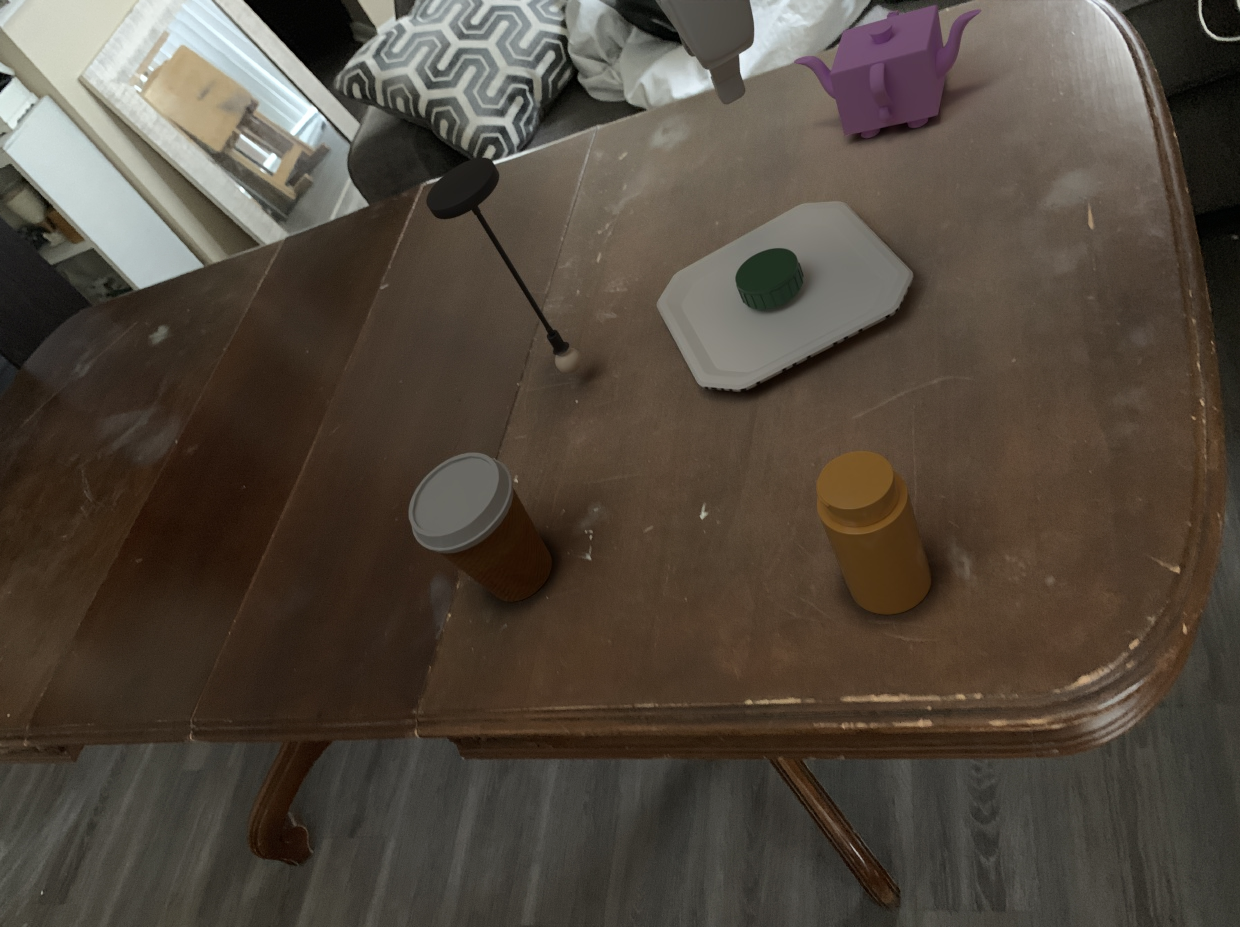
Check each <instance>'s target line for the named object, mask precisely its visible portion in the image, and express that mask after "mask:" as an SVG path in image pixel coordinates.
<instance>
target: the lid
mask: <svg viewBox="0 0 1240 927" xmlns="http://www.w3.org/2000/svg"><path fill="white" fill-rule="evenodd" d="M803 277H804V275H803V272H802V269H801V266H800V263H799V262H798V259H797V257H796V255H795V254H794V253H793V252H792V251H790V250H788V249H784V248H773V249H768V250H765V251H762V252H759V253H757V254H755V255H753V256H752V257H750V258H749V259H747V260H746V261H745V262H744V263H743V264H742V265H741V266H740V268H739V269H738V271H737V273H736V277H735V281H736V286H737V289H738V291H739V294H740V296H741V299H742V301H743V303H745V304H746V305H747V306H748V307H750V308H752V309H757V310H766V309H771V308H775V307H778V306H780V305H782V304H784V303H786V302H788V301H789V300H791V299H792V298H793V297H794V296H795V295H796V294H797V293H798V292H799V290H800V289H801V287H802V284H803Z"/></svg>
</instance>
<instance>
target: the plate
mask: <svg viewBox="0 0 1240 927" xmlns="http://www.w3.org/2000/svg"><path fill="white" fill-rule="evenodd" d="M773 248H784V249H788V250H790V251H792V252H793V253H794V254H795V255H796V257H797V259H798V262H799V263H800V266H801V269H802V272H803V275H804V277H803V284H802V287H801V289H800V290H799V292H798V293H797V294H796V295H795V296H794V297H793V298H792V299H791V300H789V301H788V302H786V303H784V304H782V305H780V306H778V307H775V308H771V309H766V310H757V309H752V308H750V307H748V306H747V305H746V304H745V303H743V301H742V299H741V296H740V294H739V291H738V289H737V286H736V281H735V277H736V273H737V271H738V269H739V268H740V266H741V265H742V264H743V263H744V262H745V261H746V260H747V259H749V258H750V257H752V256H753V255H755V254H757V253H759V252H762V251H765V250H768V249H773ZM913 282H914V272H913V271H912V270H911V269H910V268H909V267H908V265H907V264H906V263H904V262H903V260H902V259H901V258H900V257H899V256H898V255H897V254H896V253H895V252H894V251H893V250H892V249H891V248H890V247H889V246H888V245H887V244H886V243H885V241H883V239H881V238H880V237H879V236H878V235H877V234H876V233H875V231H874V230H872V229H871V227H869V225H868V224H867V223H866V222H865V221H864V220H863V219H862V218H861V217H860V216H859V215H858V214H857V212H855V211H854V209H852V208H851V207H850V206H849V205H848V204H847V202H843V201H839V200H837V201H835V200H834V201H821V202H805V203H801V204H798V205H796V206H794V207H792V208H791V209H789V210H787V211H785V212H783V213H782V214H780V215H778V216H775V217H774V218H773V219H771V220H769V221H767V222H765V223H763V224H762V225H760V226H758V227H756V228H754V229H753V230H751V231H749V232H747V233H745V234H743V235H742V236H740V237H738V238H736V239H735V240H733V241H731V242H729V243H727V244H726V245H725V244H724V245H723V246H721V247H720V248H718V249H716V250H714V251H712V252H711V253H708V254H707V255H706V256H704V257H702V258H700V259H698V260H696V261H695V262H693V263H691V264H689V265H687V266H685V267H684V268H682V269H680V270H678V271H677V272H676V273H674V274H673V276H672V277H671V279H670V280H669V282H668V284H667V285H666V287H665V289H664V290H663V292H662V293H661V295H660V296H659V297H658V299H657V302H656V308H657V310H658V313H659V314H660V316H661V318H662V320H663V321H664V324H665V325H666V328H667V329H668V331H669V333H670V334H671V337H672V339H673V341H674V342H675V344H676V346H677V348H678V349H679V352H680V353H681V356H682V357H683V359H684V361H685V363H686V365H687V367H688V368H689V370H690V372H691V374H692V376H693V378H694V380H695V381H696V384H697V385H698V386H699V387H700V388H702V389H703V390H712V391H713V390H714V391H724V392H737V393H742V392H746V391H749V390H750V389H753V388H755V387H757V386H758V385H760V384H762V383H764V382H767V381H768V380H770V379H772V378H774V377H776V376H778V375H779V374H781V373H783V372H785V371H788V370H789V369H791V368H794V367H796V366H797V365H799V364H802V363H804V362H805V361H806V360H809V359H811V358H813V357H814V356H817V355H818V354H820V353H823V352H824V351H827V350H828V349H830V348H832V347H835V346H836V345H838V344H840V343H842V342H844V341H846V340H849V339H850V338H852V337H854V336H856V335H858V334H860V333H861V332H863V331H866V330H867V329H869V328H871V327H873V326H875V325H877V324H879V323H881V322H883V321H885V320H887V319H889V318H891V317H893V316H894V315H895V314H896V313H898V312H899V311H900V310H901V307H902V305H903V303H904V300H905V298H906V296H907V294H908V292H909V291H910V287H911V285H912V284H913Z"/></svg>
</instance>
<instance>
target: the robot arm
mask: <svg viewBox="0 0 1240 927" xmlns="http://www.w3.org/2000/svg"><path fill="white" fill-rule="evenodd" d="M654 1H655V2H656V4H657V5H658V6H659V8H660V9H661V11H662V12H663V13H664V15H665V17H667V20H668V21H669V22H670V23H671V25H672V26H673V27H674V29H675V31H676V32H677V33H678V35H679V38H680V41H681V44H682V47H683V49H684V51H685V52H686V53H687V54H688V56H689V57H691V58H694V57H695V58H696V60H697V61H698V63H699V65H700V67H702V68H703V69H704V70H706V71H707V70H708V71H709V74H710V79H711V83H712V86H713V88H714V91H715V94H716V96H717V97H718V99H719V100H720V102H721V104H723V105H730V104H732V103H734V102H736V101H737V100H739V99H741V98H742V97H743V96H744V95H745V93H746V86H745V84H744V79H743V76H742V74H741V61H740V55H741V54H742V53H744V52H746V51H747V50H749V49H750V48H751V47H752V46H753V44H754V42H755V20H754V15H753V14H754V13H753V9H752V4H751V0H654Z"/></svg>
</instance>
